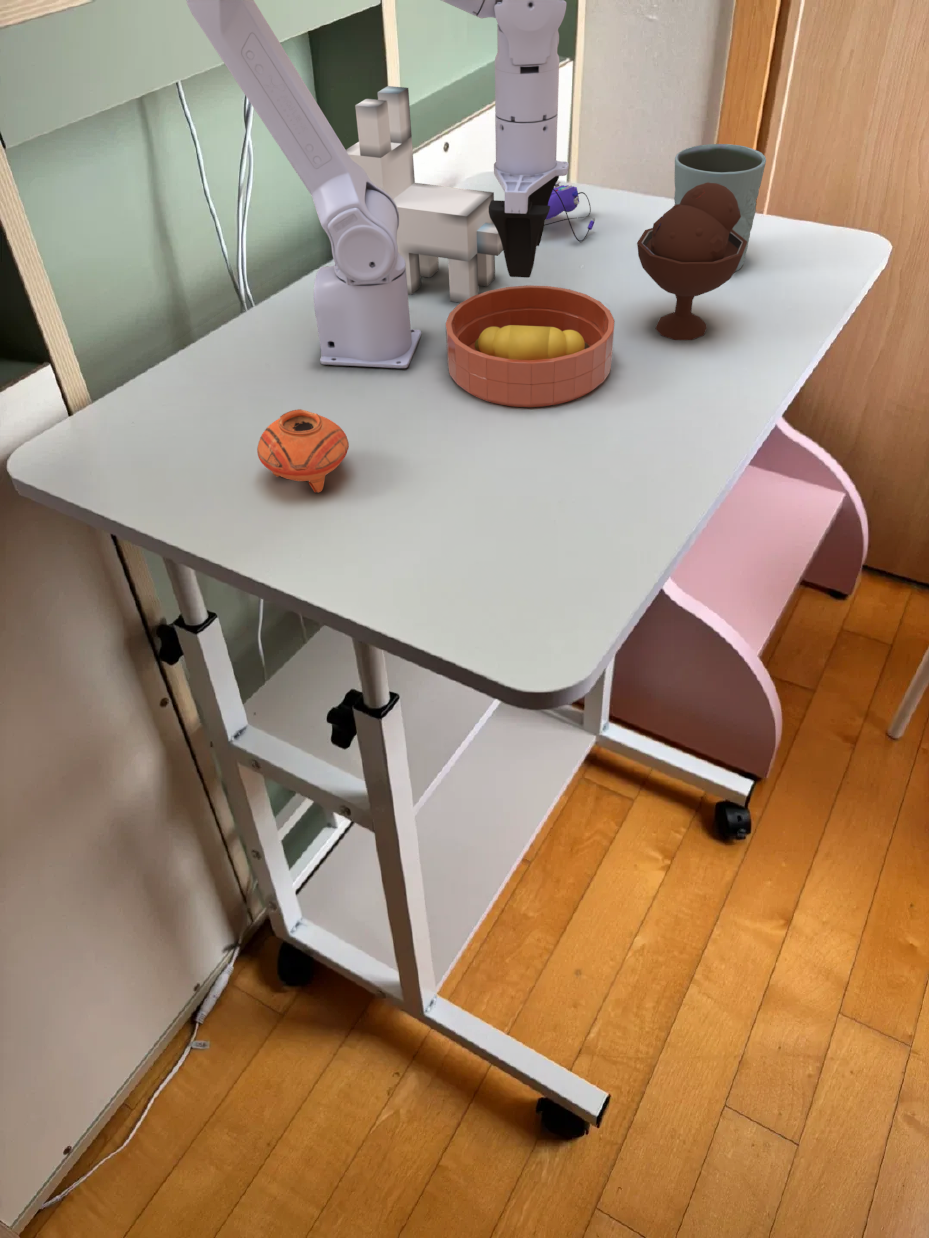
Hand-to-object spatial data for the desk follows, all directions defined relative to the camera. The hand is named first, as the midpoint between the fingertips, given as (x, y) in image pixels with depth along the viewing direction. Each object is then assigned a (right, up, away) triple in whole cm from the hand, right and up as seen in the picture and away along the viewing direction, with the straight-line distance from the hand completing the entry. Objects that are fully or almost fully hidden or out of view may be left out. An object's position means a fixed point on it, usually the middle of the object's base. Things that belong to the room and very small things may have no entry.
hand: (525, 260), depth 97 cm
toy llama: (-10, +4, +18) cm, 21 cm away
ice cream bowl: (+17, -5, +8) cm, 20 cm away
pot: (-20, -24, -11) cm, 33 cm away
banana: (+1, -10, +2) cm, 10 cm away
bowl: (+1, -10, +3) cm, 10 cm away
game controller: (+7, +15, +29) cm, 33 cm away
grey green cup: (+23, +7, +20) cm, 32 cm away
